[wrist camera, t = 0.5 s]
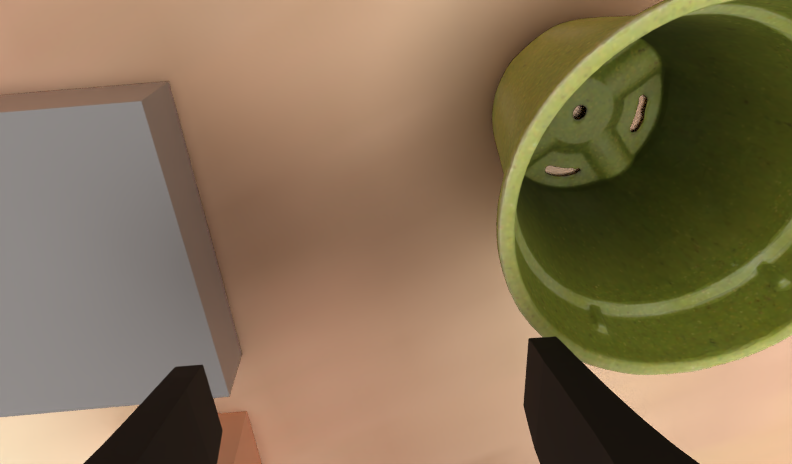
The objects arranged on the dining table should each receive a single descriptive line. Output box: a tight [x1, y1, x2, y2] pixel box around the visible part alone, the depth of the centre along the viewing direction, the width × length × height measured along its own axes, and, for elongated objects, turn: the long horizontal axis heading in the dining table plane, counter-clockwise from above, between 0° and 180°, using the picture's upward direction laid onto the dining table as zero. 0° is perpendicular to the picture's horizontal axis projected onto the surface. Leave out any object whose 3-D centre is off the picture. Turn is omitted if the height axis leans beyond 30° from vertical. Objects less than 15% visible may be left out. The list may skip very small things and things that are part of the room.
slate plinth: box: [0, 81, 242, 417], centre depth 20 cm, size 12×12×3 cm
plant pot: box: [492, 0, 792, 375], centre depth 15 cm, size 9×9×9 cm
